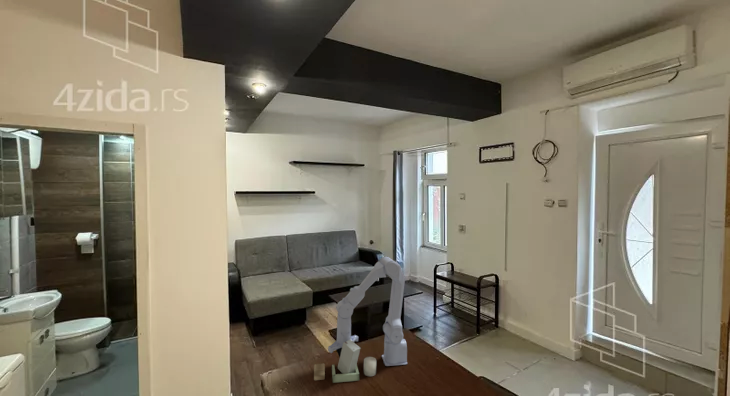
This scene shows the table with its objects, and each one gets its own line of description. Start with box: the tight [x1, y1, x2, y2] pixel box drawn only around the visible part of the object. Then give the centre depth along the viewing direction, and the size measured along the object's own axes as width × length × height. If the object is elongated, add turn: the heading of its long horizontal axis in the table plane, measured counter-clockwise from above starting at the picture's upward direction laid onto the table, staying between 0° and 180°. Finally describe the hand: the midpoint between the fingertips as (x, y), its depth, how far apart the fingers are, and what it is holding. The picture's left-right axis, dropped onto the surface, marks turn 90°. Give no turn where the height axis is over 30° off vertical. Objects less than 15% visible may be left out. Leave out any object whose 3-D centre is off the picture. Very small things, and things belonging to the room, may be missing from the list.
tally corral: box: [331, 364, 360, 384], centre depth 118 cm, size 10×8×2 cm
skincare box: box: [337, 339, 361, 374], centre depth 118 cm, size 6×4×12 cm
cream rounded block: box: [363, 356, 377, 377], centre depth 120 cm, size 5×5×5 cm
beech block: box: [313, 363, 326, 381], centre depth 117 cm, size 4×4×4 cm
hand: (343, 363), depth 124 cm, fingers closed
